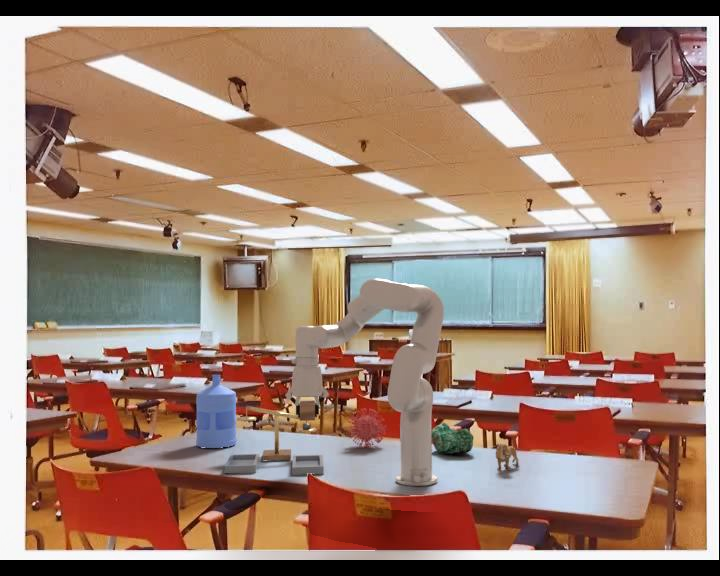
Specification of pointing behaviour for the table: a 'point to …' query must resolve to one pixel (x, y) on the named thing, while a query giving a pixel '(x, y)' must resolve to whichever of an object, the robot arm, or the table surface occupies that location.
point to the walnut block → (307, 410)
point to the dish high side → (242, 463)
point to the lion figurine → (505, 455)
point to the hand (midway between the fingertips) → (307, 416)
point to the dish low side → (307, 464)
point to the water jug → (216, 416)
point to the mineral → (451, 439)
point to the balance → (277, 433)
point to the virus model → (366, 428)
